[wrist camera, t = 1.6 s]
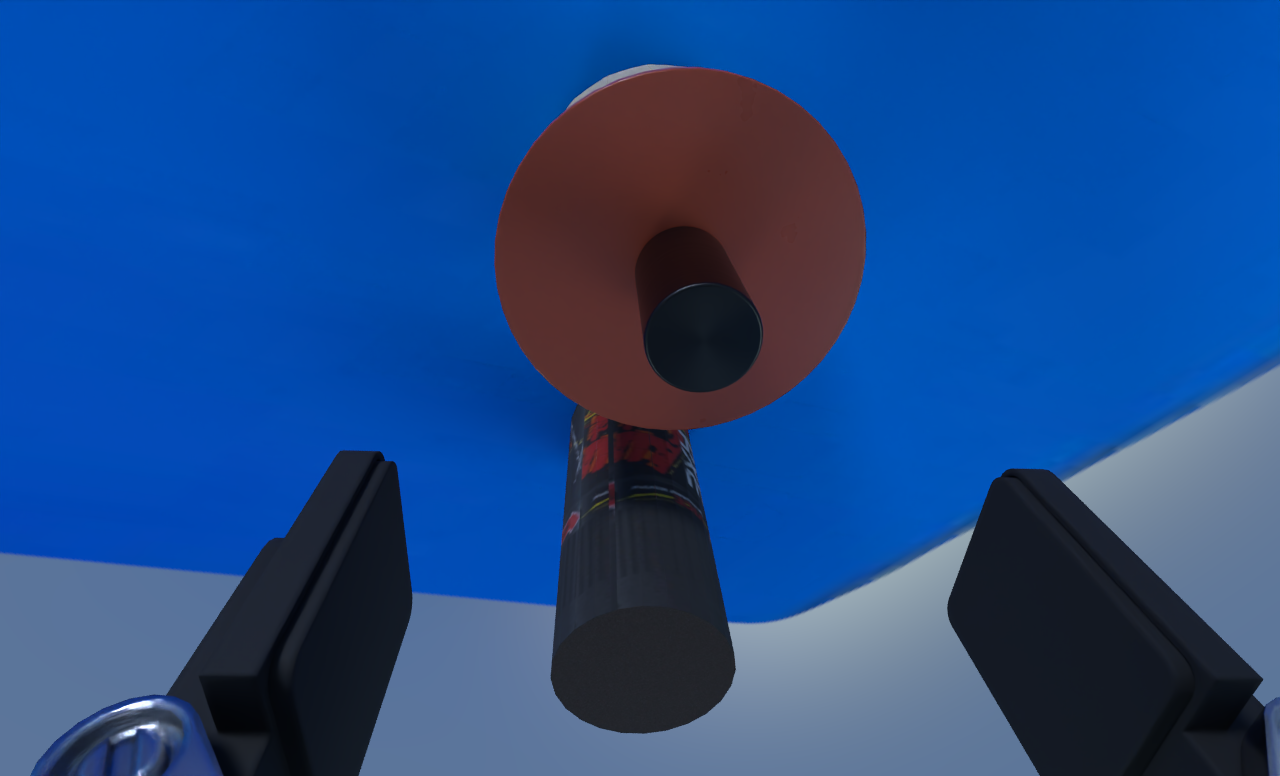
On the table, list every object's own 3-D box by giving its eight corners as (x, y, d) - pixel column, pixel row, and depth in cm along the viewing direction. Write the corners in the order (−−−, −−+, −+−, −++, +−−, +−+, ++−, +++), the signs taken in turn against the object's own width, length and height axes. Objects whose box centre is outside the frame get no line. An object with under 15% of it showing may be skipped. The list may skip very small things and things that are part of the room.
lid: (889, 77, 19) (1004, 99, 14) (818, 416, 24) (881, 530, 19) (492, 52, 18) (444, 64, 13) (505, 408, 23) (476, 524, 18)
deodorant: (709, 426, 35) (773, 667, 22) (629, 495, 37) (644, 756, 24) (627, 355, 33) (643, 574, 20) (546, 431, 35) (511, 680, 22)
